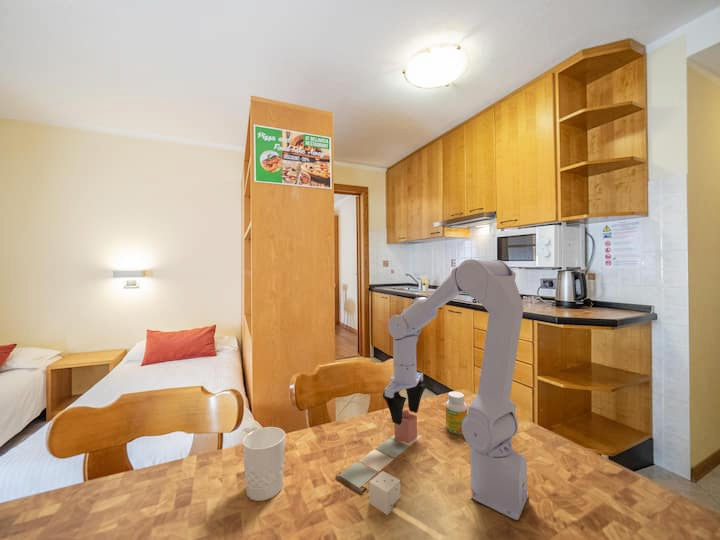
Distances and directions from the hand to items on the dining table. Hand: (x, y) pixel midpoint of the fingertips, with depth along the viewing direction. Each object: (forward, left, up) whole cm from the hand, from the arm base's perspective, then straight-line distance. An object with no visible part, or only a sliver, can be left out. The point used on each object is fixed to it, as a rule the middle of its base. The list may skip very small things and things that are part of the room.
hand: (405, 417), depth 75 cm
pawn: (0, 0, -5) cm, 5 cm away
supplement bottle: (-8, -12, -6) cm, 16 cm away
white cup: (+12, +32, -6) cm, 35 cm away
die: (-8, +20, -6) cm, 22 cm away
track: (0, +9, -6) cm, 11 cm away
